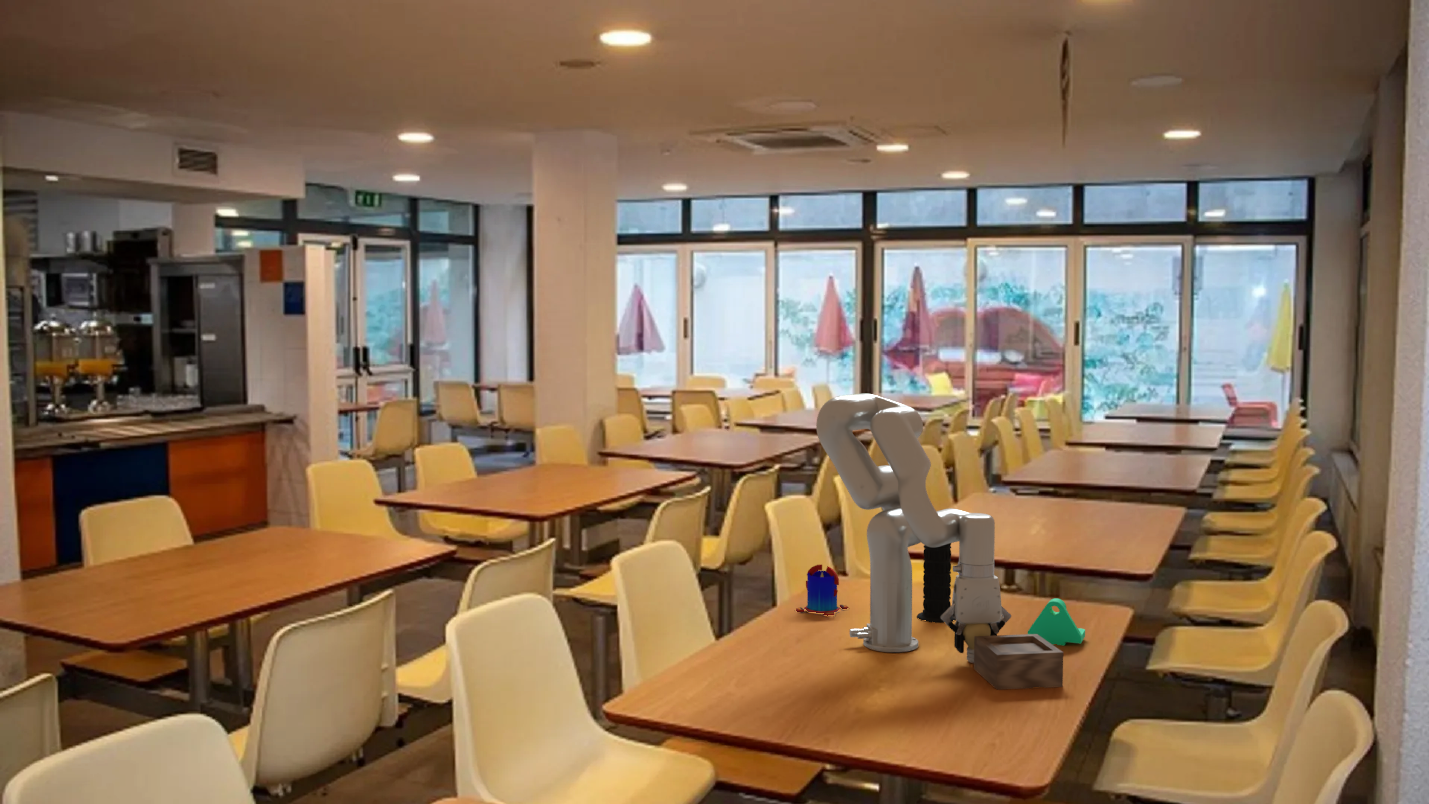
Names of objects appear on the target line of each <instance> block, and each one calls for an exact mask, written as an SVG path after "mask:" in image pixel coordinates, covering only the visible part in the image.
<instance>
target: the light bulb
mask: <svg viewBox="0 0 1429 804" xmlns="http://www.w3.org/2000/svg"><path fill="white" fill-rule="evenodd" d="M990 634H991V629H990V626H989V624H988V623H984V624H966V625H965V627H964V629H963V631H962V635H964V643H965V644H966V646H967V647H966V660H967V661H968V662H969V663H970V664H971V663H972V664H974V636H990Z"/></svg>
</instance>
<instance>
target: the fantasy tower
mask: <svg viewBox="0 0 1429 804" xmlns="http://www.w3.org/2000/svg"><path fill="white" fill-rule="evenodd" d="M806 577H807V580H805V588H806V592H807V595H806V596H807V597H806V598H807V601H806V602H807V603H806V604H807V605H806V606H804V609H806V610H807V611H808V612H816V613H824V614H823V615H827V616H828V615H834V612H837V611H838V610H839V609H840V608H839V606H840V607H841V608H842V609H847V608H849V606H847V604H845V605H844V604H840V605H839V606H838V592H839V590H838V586H839V585H840V580H839V576H838V574H837V572H836V571H835V570H834V569H833V568H831V567H830V566H828V565H827V567H826V569H825V570H823V564H816V565H813V566H812V567H810V568H809V569H808V570H807V573H806ZM795 609H796V611H797V612H805V611H804V609H803V607H797V608H795ZM842 609H841V610H842ZM805 613H806V612H805Z"/></svg>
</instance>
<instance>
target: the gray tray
mask: <svg viewBox="0 0 1429 804" xmlns="http://www.w3.org/2000/svg"><path fill="white" fill-rule="evenodd" d="M973 669H974V671H976V673H978V674H979V675H980V676H981V677H982V678H983V679H984V680H985V681H987V682H988V683H989V684H990V685H991V686H992V687H993V688H995V689H996V690H1013V689H1015V690H1016V689H1017V690H1019V689H1034V688H1033V687H1044V688H1063V687H1064V686H1063V685H1064V651H1062V650H1061V649H1060V648H1058V647H1056V645H1054V644H1051V643H1049V642H1048V641H1046V640H1045V639H1043V638H1042V637H1041V636H1039V635H1038V634H1028V633H1027V634H1004V635H1002V634H1001V635H999V634H997V635H996V636H974V663H973Z"/></svg>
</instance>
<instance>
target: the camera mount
mask: <svg viewBox="0 0 1429 804" xmlns="http://www.w3.org/2000/svg"><path fill="white" fill-rule="evenodd" d="M1053 607H1056V608H1058V611H1055V610H1054V609H1053ZM1027 634H1038V635H1039V636H1041V637H1042V638H1043V639H1045V640H1046V641H1048V642H1049V643H1051V644H1052V645H1054V644H1057V645H1056V646H1063V647H1064V646H1065V645H1066V644H1067V643H1073V644H1082V642H1083V641H1084V639H1085V637H1086V629H1085V628H1081V627H1080V628H1079V627H1078V626H1077V625H1076V623H1075V621H1074V620H1073V618H1072V615H1070V613H1069V611H1068V609H1067V605H1066V603H1065V601H1064V600H1062V599H1061V598H1052V599H1050V600H1049V601H1048V602H1047V604H1046V605H1044V608H1043V609H1042V611H1041V612H1040V613H1039V615H1038V616H1037V618H1036V619H1035V620H1034V621H1033V623H1032V625H1030V627H1029V628H1028V630H1027Z"/></svg>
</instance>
